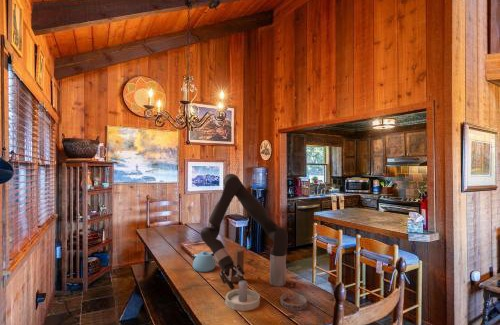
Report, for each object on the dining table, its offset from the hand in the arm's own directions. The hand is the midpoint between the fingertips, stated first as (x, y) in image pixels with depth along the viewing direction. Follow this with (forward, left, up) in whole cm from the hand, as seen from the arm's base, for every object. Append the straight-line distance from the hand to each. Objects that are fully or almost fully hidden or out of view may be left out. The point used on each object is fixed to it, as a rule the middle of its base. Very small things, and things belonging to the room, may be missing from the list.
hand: (239, 286), depth 146 cm
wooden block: (-17, -19, -7) cm, 26 cm away
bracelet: (-16, +22, -8) cm, 29 cm away
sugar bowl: (-18, -48, -8) cm, 51 cm away
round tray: (0, +2, -7) cm, 8 cm away
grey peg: (0, +2, -6) cm, 7 cm away
